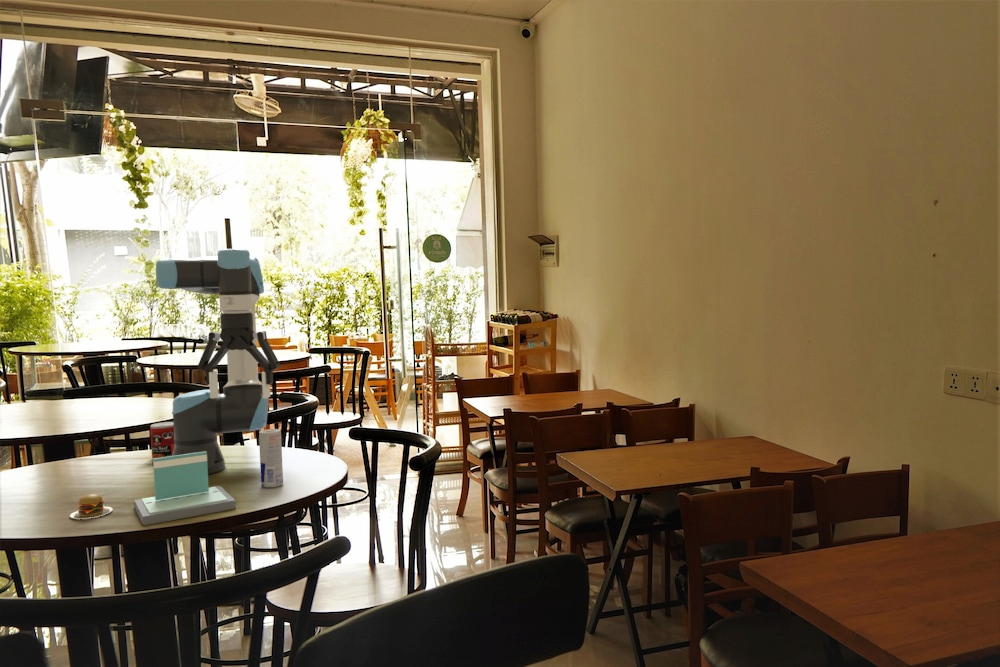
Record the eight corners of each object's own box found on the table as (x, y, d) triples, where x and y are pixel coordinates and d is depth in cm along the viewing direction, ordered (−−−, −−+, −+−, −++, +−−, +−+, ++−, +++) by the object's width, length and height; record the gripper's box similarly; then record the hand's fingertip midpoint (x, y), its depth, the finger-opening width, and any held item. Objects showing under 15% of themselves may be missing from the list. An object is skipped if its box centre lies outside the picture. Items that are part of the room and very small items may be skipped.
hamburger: (115, 506, 177) (114, 484, 176) (124, 517, 167) (123, 494, 167) (59, 516, 169) (57, 493, 169) (65, 528, 160) (64, 505, 160)
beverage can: (286, 482, 192) (284, 428, 191) (278, 488, 187) (275, 432, 186) (266, 482, 193) (264, 428, 192) (257, 488, 187) (255, 432, 186)
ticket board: (134, 508, 172) (133, 498, 172) (220, 493, 183) (220, 484, 183) (143, 525, 159) (142, 514, 159) (235, 508, 170) (235, 498, 170)
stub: (155, 499, 170) (152, 458, 169) (208, 490, 177) (206, 451, 176) (155, 500, 169) (153, 459, 169) (208, 491, 176) (206, 451, 175)
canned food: (146, 461, 222) (144, 426, 222) (162, 455, 230) (161, 421, 229) (168, 461, 221) (167, 426, 220) (184, 455, 229) (182, 421, 228)
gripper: (179, 313, 172) (184, 400, 173) (278, 312, 169) (282, 400, 171) (196, 311, 179) (200, 394, 181) (291, 310, 176) (294, 394, 178)
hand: (240, 397), depth 176 cm, fingers open, 13 cm apart
